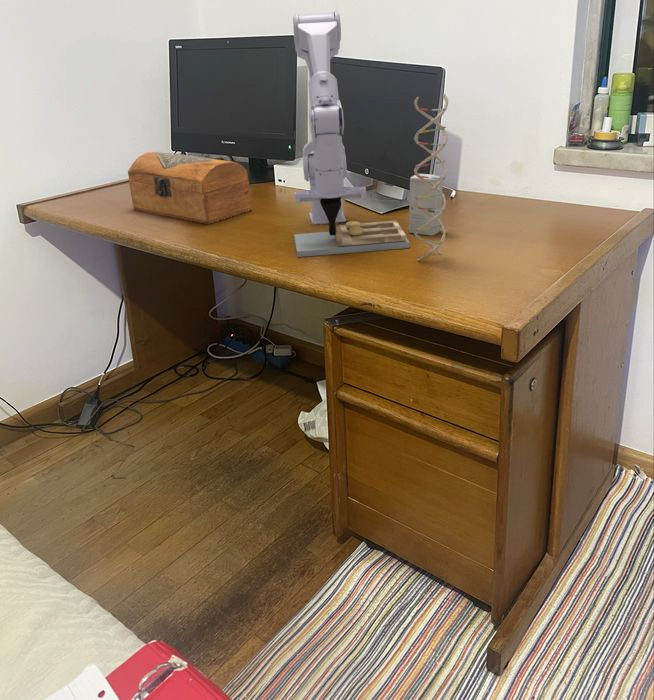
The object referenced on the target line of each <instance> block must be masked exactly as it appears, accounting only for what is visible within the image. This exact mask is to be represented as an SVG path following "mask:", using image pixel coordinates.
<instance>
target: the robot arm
mask: <svg viewBox="0 0 654 700" xmlns="http://www.w3.org/2000/svg"><path fill="white" fill-rule="evenodd" d="M340 15H341V14H340V13H339V12H338V11H337V10H336V11H333V12H318V13H317V12H316V13H315V12H314V13H300V14H298V13H295V14H294V15H293V17H292V24H293V39H294V45H295V53H296V56H297V58H299V59H302V60H305V63H306V66H307V69H308V72H309V74H308V75H309V80H308V93H309V103H310V105H309V106H310V109H309V112H308V116H309V117H308V118H309V121H308V122H309V131H310V136H311V139H310V140H309V141H308V142H306V144H305V145H303V148H302V167H303V177H304V178H303V179H304V181H305V182H309V189H306V190H300V191H299V190H298V191H294V203H295V204H300V203H306V202H310V203H311V204H310V205H311V212H308V213H309V218H310V221H311V225H324V224H328V232H329V234H330V236H332V235H335V226H334V225H335V221H336V218H337V220H338V223H347V219H346V216H345V214H344V212H343V200H347V199H348V200H349V199H358V198H359V199H367V188H366V187H365V186H345V185H344V184H345V182H344V179H346V178H347V175H348V173H347V171H348V169H347V168H348V167H347V166H348V165H347V156H346V150H345V149H346V148H345V146H344V144H343V135H344V129H345V120H344V119H345V118H344V110H343V107H342V103H341V100H340V99H339V98H340V97H339V89H338V80H337V78H336V76H335V75H334V74H333V73H331V59H332V58H334V57H335V56H337V55H339V50H340V48H341V47H340V45H341V41H342V32H341V31H342V27H341V25H342V24H341V16H340ZM340 132H341V133H340ZM312 152H313V153H312Z"/></svg>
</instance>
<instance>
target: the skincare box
mask: <svg viewBox="0 0 654 700" xmlns="http://www.w3.org/2000/svg"><path fill="white" fill-rule="evenodd" d="M418 174H419V175H420V176H426V177H429V178H425V179H426V180H428V181H430V182H431V183H433V184H434V185H435V184H436V183H438V182H439V181H440V180H439V179H431V178H432V177H436V178H442V177H443V174H442V175H439V174H432V173H431V174H430V173H429V174H428V173H418ZM443 183H444V180H443V181H442V183H441V184H440V185H439V186H438V187H437V188H438V189H439V190H441V191H442V192H443ZM430 187H431V186H430V185H429V184H427V183H426V182H424V181H423V180H421V179H420V178H418V177H417V176H416V175H415V174H414V175H412V176H410V178H409V208H408V209H409V213H408V232H409V234H414V232H415V229H418V228H420V227H421V226H423V225H424V224H426V223H427V222H429V221H430V219H433V218H432V217H429V215H427V214H426V213H424V212H422V211H421V210H419V209H418V208H416V207H415V205H414V201H415V200H416V199H415V198H418V197H419V196H421V195H422V194H423V193H425V192H426V191H428V190H429V189H430ZM435 194H439V193H438V192H437V191H436V190H435V189H434V190H433V191H431V192H430V193H428V194H427V195H425V196H424V197H426V196H431V195H435ZM442 202H443V200H442V197H441V195H438V196H433V197H428V198H424V199H420V200H419V201H418V202H417V204H418V205H419V206H420V207H421V208H428V210H426V209H424V210H426V211H428V212H429V213H431V214H433V215H434V216H436V215H437V214H438V213H439V212H437V211H432V210H431V209H435V210H441V209H442V207H443V204H442ZM437 219H439V221H440V222H441V223H442V214H441V215H440V216H439V218H437ZM438 225H439V223H438V222H437V221H436V220H435V221H434V222H433V223H431V224H430V225H428V226H426V227H425V228H430V227H434V226H438ZM425 228H423V229H425ZM441 230H442V228H441V227H436V228H431V229H427V230H422V231H418V233H417V235H424V236H435V235H437V234H438V233H439V232H440V231H441Z"/></svg>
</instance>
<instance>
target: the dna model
mask: <svg viewBox="0 0 654 700" xmlns="http://www.w3.org/2000/svg"><path fill="white" fill-rule="evenodd" d="M442 96H443V99H444V101H445V102H444V106H443V108H432V109H431V111H434V112H435V111H436V112H439V113H438V114H437V115H436V116H435V117H432V116H431V115H430V114H428V113H427V112H425V111H430V109H429V108H421V107H419V106H418V100H419V98H420V97H419V96H417V97H416V98H415V99H414V101H413V105H414V109H415V110H416V111H418V112H419V114H421V115H422V116H424V117H425V118H426V119H428V120H429V121H428V122H427V123H426V124H425V125H424V126H423V127H421V128H420V129H419V130H417V131H416V132H415V135H414V136H413V137H414V138H413V140H414V142H415V144H416V145H418V146H419V147H421V148H422V149H424V150H425V151H426V152H428V154H430V155H429V156H428V157H426V158H425V159H424V160H422V161H421V162H420V163H419V164H415V165H414V166H415V167H414V169H413V173H414V175H416V176H417V177H418V178H420V179H421V180H423V181H424V182H426V183H427V184H429V185H430V186H431V187H430V189H429V190H428V191H426V192H425V193H423V194H422V195H421V196H419V197H418V198H415V199H416V200H415V201H414V205H415V207H416V208H418V209H419V210H421V211H422V212H424V213H426V214H427V215H429V217H432V218H433V219H430V221H429V222H427V223H426V224H424V225H423V226H421V227H420V228H418V229H415V232H414V233H413V235H414V237H415V238H416V239H418V240H420V241H422V243H425V244H426V245H428V246H429V247H430V248H432V249H430V251H428V252H426V253H425V254H423V255H421V256H420V257H419V258H418V257H417V259H416V260H417V261H418V262H419V261H421V260H423V259H425V258H426V257H429V256H430V255H431V254H433V253H434V252H436V253H438V254H439V255H442V253H443V252H441V251H440V250H439V248H440V247H441V246H442V244H443V243H444V241H445V238H446V228H445V225H444V223H442V221H441V222H440V221H439V219H437V218H439V216H440V215H441V216H442V214H443V213H444V212H445V210H446V207H447V199H446V196H445V193H444V192H443V190H442V191H441V190H439V189H438V188H437V187H438V186H439V185H440V184H441V183H442V181H443V182H444V181H445V180H446V176H447V171H448V169H447V166H446V163H445V162H446V161H447V160H446V159H442V158H441V157H440V156H439V155H438V154H439V153H441V151H442V150H443V149H444V148H445V146H446V145H447V142H448V134H447V131H446V128H447V126H444V125H442V124H441V123H440V122H439V121H438V120H439V119H440V118H441V117H443V115H444V114H445V112H446V111H447V109H448V106H449V99H448V96H447V95H446V93H443V95H442ZM432 124H435V125H436V126H437V127H438V128H435V129H428V130H427V128H429V127H430V126H431V125H432ZM440 130H441V131H442V133H443V137H444V139H443V143H442V144H441V143H440V144H438V143H429V142H420V141H419V134H424V133H428V132H436V131H440ZM426 145H427V146H428V145H430V146H435V147H439V148H437V149H436V150H435V151H434V150H430V149H429V148H428V147H427V146H426ZM433 158H435V159H436V160H438V161H437V162H432V163H431V165H432V166H433V165H438V164H441V165H442V166H443V173H442V176H443V177H442V178H436V177H432V178H431V179H439V180H440V181H439V182H438V183H436V184H435V185H434V184H433V183H431V182H430V181H428V180H426V179H425V178H429V177H426V176H420V175H419V174H420V173H419V172H418V171H419V170H420V169H419V168H422V167H427V166H429V165H430V163H427V162H429V161H430V160H432V159H433ZM426 163H427V164H426ZM434 189H435V190H436V191H437V192H438V193H439V194H435V195H431V196H426V197H424V196H425V195H427V194H428V193H430V192H431V191H433V190H434ZM438 195H441V197H442V202H443V204H442V207H441V210H435V209H431V210H432V211H437V212H439V213H438V214H437V215H436V216H434V215H433V214H431V213H429V212H428V211H426V210H428V208H421V207H420V206H419V205H418V204H417V202H418V201H419V200H420V199H424V198H428V197H433V196H438ZM424 209H426V210H424ZM435 220H436V221H437V222H438V223H439V225H438V226H434V227H430V228H425V227H426V226H428V225H430V224H431V223H433V222H434V221H435ZM436 227H441V231H442V236H441V239H440V241H436V240H435V241H434V240H431V239H427V238H423V237H421V235H420V234H417V233H418V231H422V230H427V229H431V228H436ZM423 228H425V229H423ZM433 243H434V244H433ZM435 244H436V245H435Z"/></svg>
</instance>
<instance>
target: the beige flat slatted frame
mask: <svg viewBox="0 0 654 700" xmlns="http://www.w3.org/2000/svg"><path fill="white" fill-rule="evenodd" d="M334 226H335V238H336V241H337V244H338V246H348V245H360V244H372V243H384V242H397V241H406V238H407V235H406V233H405V231H404V230H403V229H402V226H400V223H398V221H397V220H388V221H387V220H384V221H376V222H375V221H373V222H363V223H361V222H360V228H363V234H360V236H352V235H350V234H349V232H348V228H346V224H340V222H338V220H337V218H336V221H335V225H334Z"/></svg>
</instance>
